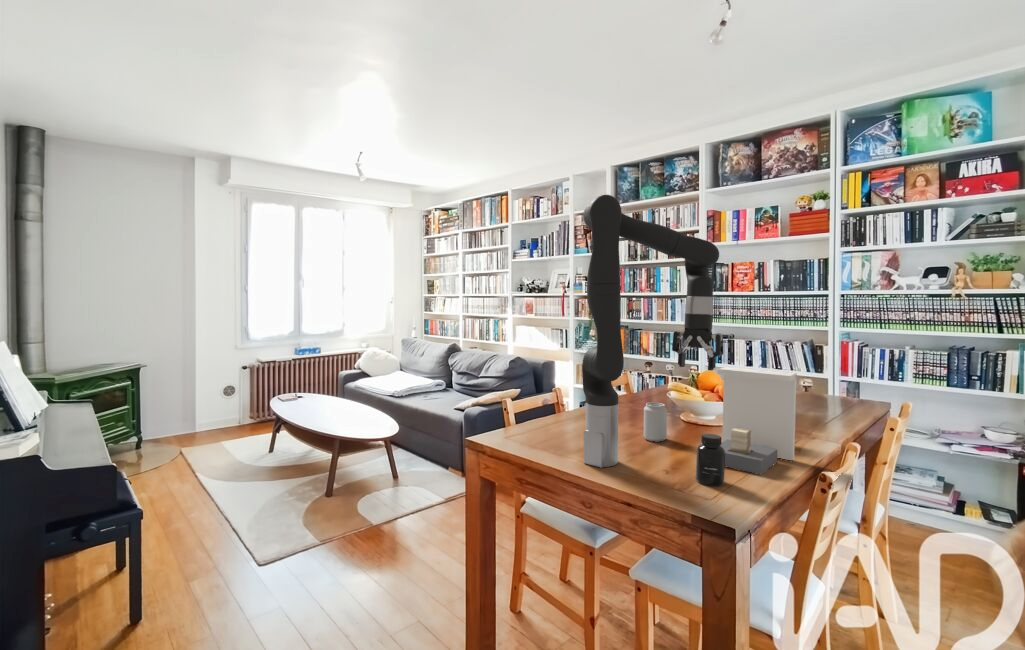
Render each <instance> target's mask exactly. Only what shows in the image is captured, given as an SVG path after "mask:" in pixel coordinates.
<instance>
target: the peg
mask: <svg viewBox="0 0 1025 650" xmlns="http://www.w3.org/2000/svg"><path fill="white" fill-rule="evenodd" d="M731 452H735V453H740V454H744V455H749V454H750V453H751V430H749V429H743V428H737V427H736V428H734V429H732V430H731Z"/></svg>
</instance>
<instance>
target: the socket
mask: <svg viewBox="0 0 1025 650" xmlns="http://www.w3.org/2000/svg"><path fill="white" fill-rule="evenodd" d="M721 442H722V441H721ZM720 446H721V447H723V448H724V450H725V466H727V467H730V468H729V469H731V468H734V469H733V470H736V469H739V470H738V471H740V470H743V471H742V472H744V471H748V472H747V473H749V472H752V473H751V474H753V473H757V474H756V475H758V474H762V473H763V474H764V472H765V471H766V470H767V469H768V468H770V467H771V466H772V465H773V464H775V463H776V462H777V463H778V459H777V449H775V448H770V447H765V446H759V445H754V444H751V453H750V454H749V455H744V454H740V453H735V452H731V440H728V439H727V440H726V441H724V442H722V444H721V445H720ZM777 463H776V464H777ZM776 464H775V465H776ZM773 466H774V465H773ZM773 466H772V467H773ZM727 467H726V468H727ZM772 467H771V468H772ZM771 468H770V469H771ZM768 470H769V469H768ZM768 470H767V471H768ZM767 471H766V472H767ZM766 472H765V473H766ZM763 474H762V475H763Z"/></svg>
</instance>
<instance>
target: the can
mask: <svg viewBox="0 0 1025 650" xmlns="http://www.w3.org/2000/svg"><path fill="white" fill-rule="evenodd" d="M665 406H666V404H664V403H662V402H646V403H645V406H644V407H643V437H644V439H645V440H646V439H647V440H646V441H649V442H653V441H655V442H656V443H657V442H658V443H660V441H661V442H664V441H665V440H666V439H667V437H668V436H667V433H668V432H667V429H668V428H667V427H668V426H667V425H668V409H667V408H666V407H665Z"/></svg>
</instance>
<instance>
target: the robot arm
mask: <svg viewBox="0 0 1025 650" xmlns="http://www.w3.org/2000/svg"><path fill="white" fill-rule="evenodd" d="M582 215H583V216H582V218H583V221H584V224H585V226H586V227H588V228H589V229H590V230H591V236H592V248H591V249H592V250H591V255H590V260H589V266H588V268H587V269H588V270H587V279H586V297H587V299H586V300H587V305H588V309H589V311H590V315H591V317H592V319H593V323H594V325H595V329H596V331H595V332H596V346H592V347H590V348H589V349H587V351H586V352H585V353H584V356H583V358H582V365H581V367H582V370H581V371H582V389H583V391H582V392H583V394H584V396H585V429H584V431H583V463H584V464H586V465H589V466H590V465H591V466H593V467H598V468H600V469H601V468H607V467H613V466H616V465H618V463H619V461H618V459H619V394H618V392H617V391H616V390H615V389H614V387H613V384H612V382H614V381H617V380H618V379H619V378H620V376H621V375H622V373H623V370H624V365H625V359H624V350H623V342H622V341H623V340H622V329H621V326H622V325H621V324H622V323H621V261H620V238H622V239H627V240H630V241H632V242H635V243H638V244H639V245H643V246H645V247H647V248H649V249H652V250H655V251H656V252H659V253H662V254H664V255H667V256H669V257H673V258H681V259H683V260H684V268H685V276H686V280H687V284H686V301H685V306H684V307H685V309H684V310H685V312H684V327H683V328H684V331H683V332H681V331H680V330H678V331H677V330H676V331H674V332H673V337H672V347H671V351H673V352H675V353H677V364H678V366H679V367H680V368H684V367H685V366H686V353H687V351H688V350H689V349H690V348H697V349H704V351H705V352H706V353H707V354H708V360H707V371H714V369H716V361H717V357H720V356H723V355H724V335H723V334H722V333H718V334H713V332H712V330H713V319H714V318H713V316H714V315H713V314H714V299H713V298H714V297H713V296H714V295H713V294H714V280H713V278H712V277H710V276H709V273H708V268H709V267H711V266H714V265H715V264H716V263H717V262H718V261H719V259H720V250H719V248H718V247H717V246H716V245H715V244H714V243H713V242H710V241H708V240H705V239H703V238H699V237H694V236H690V235H686V234H683V233H682V232H679V231H677V230H674V229H673V228H669V227H667V226H664V225H661V224H658V223H654V222H650V221H645V220H641V219H637V218H634V217H631V216H629V215H626V214H625V213H623V212H622V206H621V204H620V202H619V200H618V199H617V198H616V197H614V196H613V195H610V194H602V195H599V196H597V197H596V198H594V199H593V200H592V201H590V202H589V203H588V204H587V205H586V206H585V207H584V210H583V213H582ZM681 339H684V340H685V341H684V342H683V343H682V344H681ZM712 340H713V341H714V342H715V348H714V346H713V345H712V342H711V341H712Z"/></svg>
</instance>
